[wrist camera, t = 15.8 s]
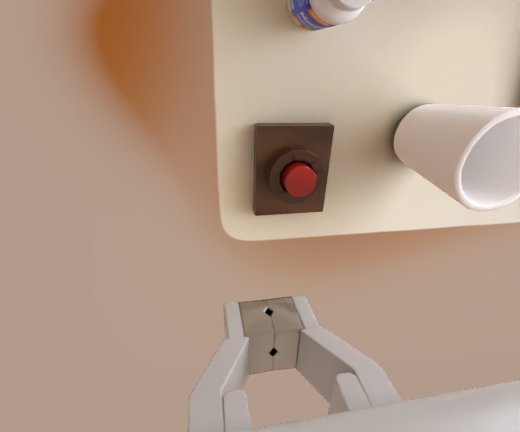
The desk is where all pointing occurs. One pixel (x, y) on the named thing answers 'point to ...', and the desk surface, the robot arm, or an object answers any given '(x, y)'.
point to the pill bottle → (324, 12)
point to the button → (298, 179)
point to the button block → (280, 156)
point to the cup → (464, 151)
